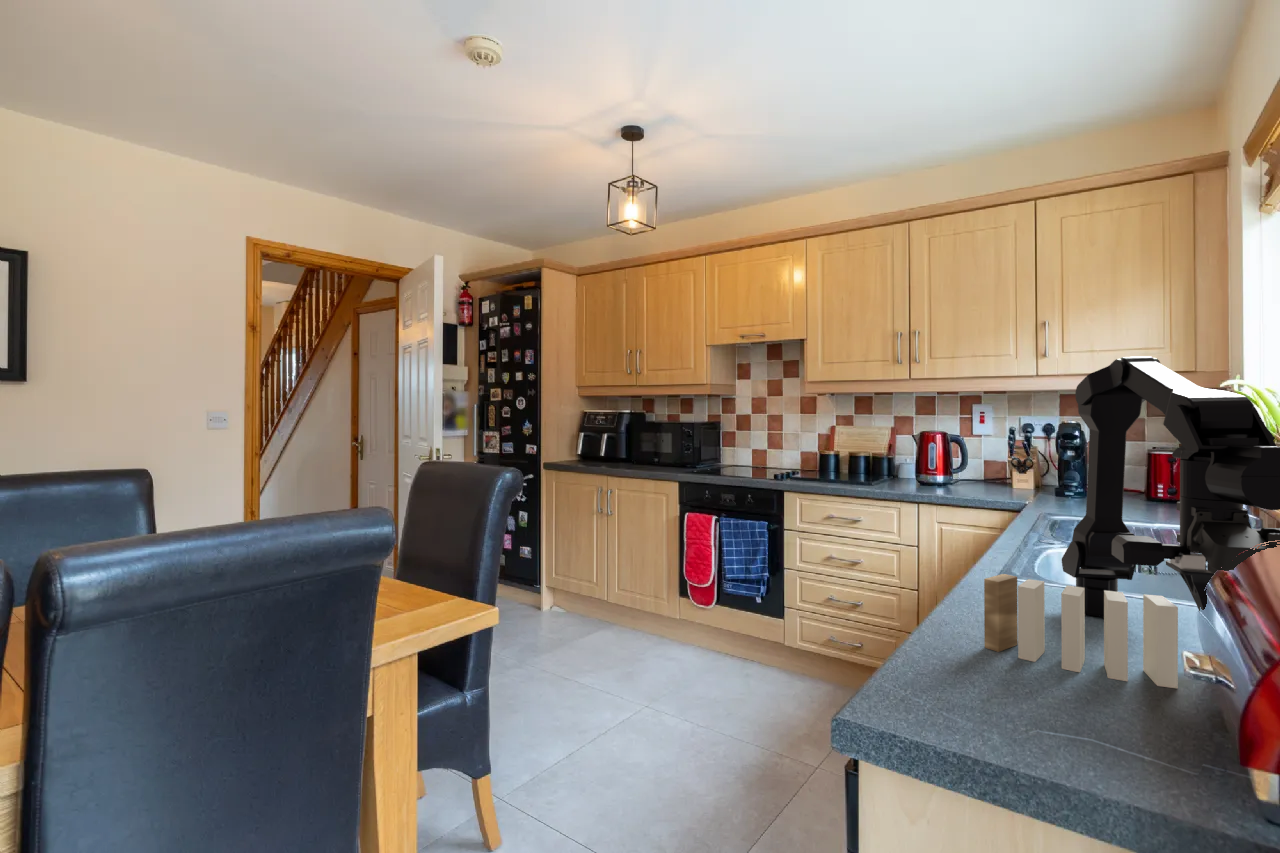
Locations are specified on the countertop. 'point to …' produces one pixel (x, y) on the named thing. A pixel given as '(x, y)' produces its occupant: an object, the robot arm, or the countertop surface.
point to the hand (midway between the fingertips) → (1210, 624)
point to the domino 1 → (1000, 612)
